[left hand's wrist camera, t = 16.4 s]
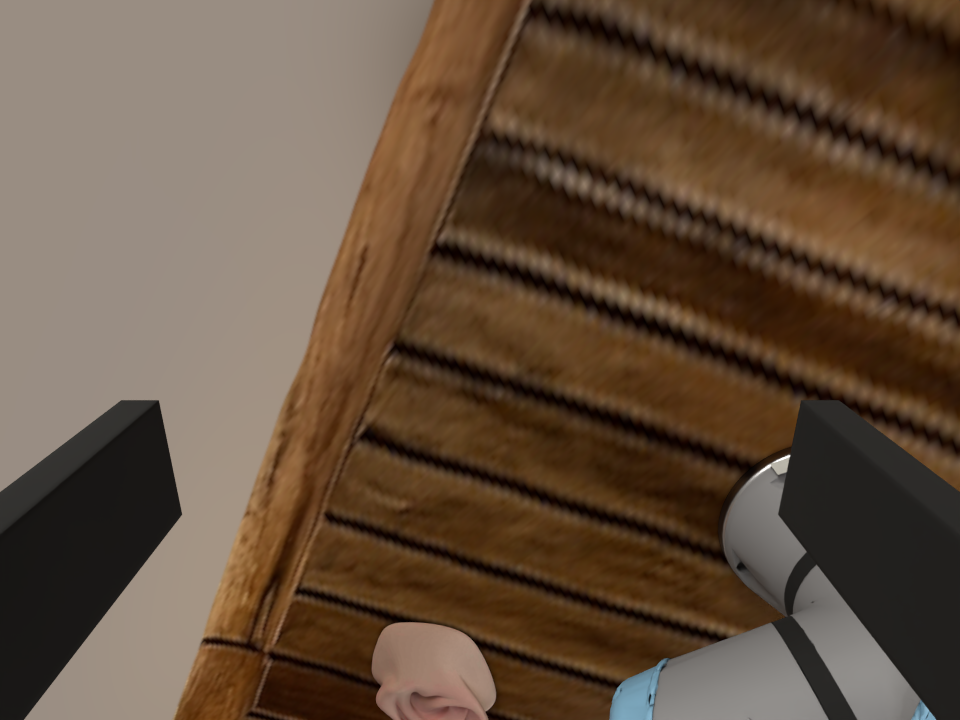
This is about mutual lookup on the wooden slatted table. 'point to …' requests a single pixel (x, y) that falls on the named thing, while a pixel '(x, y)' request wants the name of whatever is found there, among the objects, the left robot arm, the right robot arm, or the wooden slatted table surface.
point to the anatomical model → (431, 674)
